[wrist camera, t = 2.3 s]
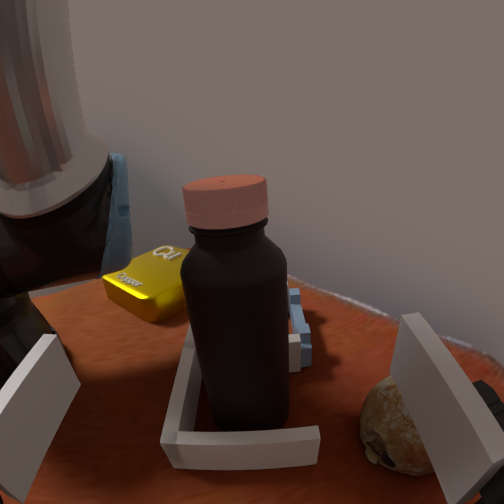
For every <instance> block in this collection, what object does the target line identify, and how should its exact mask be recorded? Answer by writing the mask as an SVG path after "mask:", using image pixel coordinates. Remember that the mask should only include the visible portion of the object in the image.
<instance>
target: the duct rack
mask: <svg viewBox="0 0 504 504" xmlns="http://www.w3.org/2000/svg"><path fill="white" fill-rule="evenodd" d="M287 289H288V312H289V314H290V319H291V324H292V329H293V334H292V335H289V372H299V371H300V367H309V366H311V360H312V346H311V342H310V340H311V332H310V328H309V324H308V323H307V324H306V323H305V319H304V315H303V311H302V307H301V304H300V292H299V288H293V289H289V288H288V281H287ZM202 377H203V376H202V372H201V368H200V364H199V360H198V356H197V352H196V347H195V343H194V339H193V334H192V330H191V325H190V324H189V328H188V332H187V335H186V339H185V343H184V346H183V350H182V354H181V358H180V362H179V366H178V369H177V373H176V377H175V381H174V385H173V389H172V393H171V397H170V401H169V405H168V409H167V414H166V418H165V422H164V426H163V430H162V435H161V439H160V444H161V446H162V448H163V450H164V452H165V454H166V455H167V457H168V459H169V461H170V462H171V464H172V466H173V468H180V469H198V470H255V469H273V468H286V467H296V466H305V465H313V464H317V458H318V452H319V446H320V439H321V438H320V432H319V427H318V425H316V426H308V427H299V428H289V429H278V430H263V431H243V432H194V426H195V420H196V413H197V407H198V401H199V394H200V388H201V382H202Z"/></svg>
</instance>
